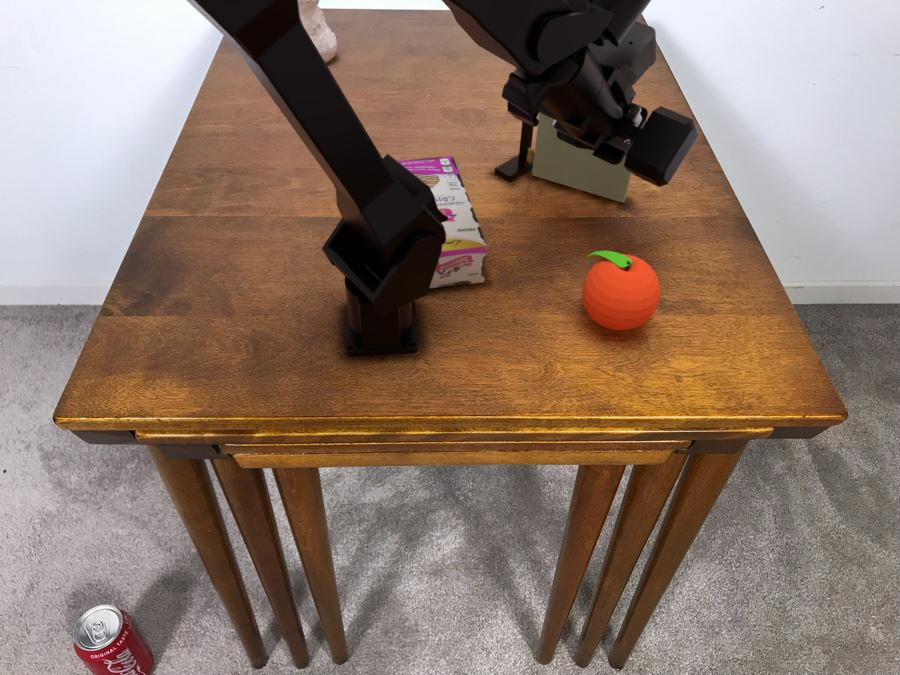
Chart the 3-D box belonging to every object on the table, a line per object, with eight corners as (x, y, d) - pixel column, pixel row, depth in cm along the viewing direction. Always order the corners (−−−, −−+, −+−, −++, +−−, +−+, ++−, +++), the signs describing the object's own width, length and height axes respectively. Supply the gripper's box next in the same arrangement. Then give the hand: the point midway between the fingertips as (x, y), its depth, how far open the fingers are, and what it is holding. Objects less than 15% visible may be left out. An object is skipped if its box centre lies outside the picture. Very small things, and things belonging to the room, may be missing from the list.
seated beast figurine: (287, 43, 108) (274, -42, 99) (343, 45, 108) (336, -40, 99) (273, 72, 101) (259, -17, 93) (334, 74, 101) (325, -15, 93)
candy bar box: (453, 151, 78) (490, 244, 67) (451, 190, 82) (487, 284, 71) (351, 161, 76) (372, 258, 65) (354, 200, 80) (374, 298, 69)
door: (623, 203, 80) (643, 117, 73) (531, 175, 84) (541, 90, 76) (627, 196, 81) (647, 111, 73) (536, 169, 84) (546, 85, 77)
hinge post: (513, 184, 83) (523, 86, 74) (494, 174, 84) (501, 76, 76) (546, 165, 86) (559, 68, 77) (527, 155, 87) (537, 59, 79)
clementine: (553, 313, 68) (563, 254, 63) (597, 280, 71) (610, 222, 66) (622, 357, 64) (638, 299, 59) (665, 320, 67) (684, 262, 62)
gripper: (718, 33, 57) (743, 113, 70) (537, -30, 65) (590, 52, 79) (641, 157, 58) (680, 212, 72) (474, 80, 67) (537, 142, 81)
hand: (620, 149), depth 76 cm, fingers closed
